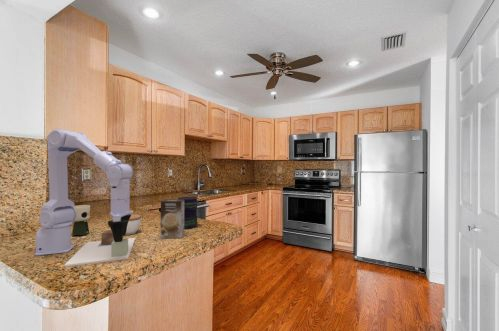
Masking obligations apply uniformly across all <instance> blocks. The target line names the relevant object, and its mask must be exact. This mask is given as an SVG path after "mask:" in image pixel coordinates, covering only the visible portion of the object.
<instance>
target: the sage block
mask: <svg viewBox="0 0 499 331" xmlns="http://www.w3.org/2000/svg"><path fill="white" fill-rule="evenodd" d="M128 238H129V237H128ZM128 238H127V237H126V238H123V240H122V242H115V241H114V240H113V242H112V243H111V257H117V256H125V255H127V253H128Z"/></svg>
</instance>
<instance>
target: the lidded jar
mask: <svg viewBox="0 0 499 331" xmlns="http://www.w3.org/2000/svg"><path fill="white" fill-rule="evenodd" d="M130 214H131V217H130V219H129V221H128V225H127V230H126V234H125V236H129V235H133V234H136V233H137V231H138V230H140V229H139V228H140V226H141V223H142V222H141V221H142V215H141V214H134V213H130Z"/></svg>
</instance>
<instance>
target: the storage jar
mask: <svg viewBox="0 0 499 331" xmlns="http://www.w3.org/2000/svg"><path fill="white" fill-rule="evenodd" d="M177 199H180V200H184V230H193V228H194V229H196V228H198V212H197V210H198V197H196V196H181V197H177Z"/></svg>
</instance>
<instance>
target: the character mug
mask: <svg viewBox="0 0 499 331" xmlns="http://www.w3.org/2000/svg"><path fill="white" fill-rule="evenodd" d="M74 206H75V210H76V212H77V217H76V219H75V220H74V221H73V224H72V230H71V235H73V236H74V235H75V236H82V235H83V236H84V235H87V234H89V233H90V227H89V222H88V220H90V219H91V205H90V204H81V205H79V204H78V205H74Z"/></svg>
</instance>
